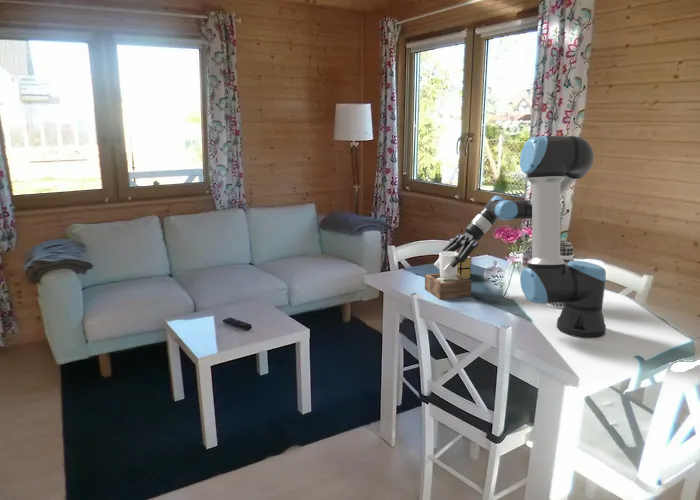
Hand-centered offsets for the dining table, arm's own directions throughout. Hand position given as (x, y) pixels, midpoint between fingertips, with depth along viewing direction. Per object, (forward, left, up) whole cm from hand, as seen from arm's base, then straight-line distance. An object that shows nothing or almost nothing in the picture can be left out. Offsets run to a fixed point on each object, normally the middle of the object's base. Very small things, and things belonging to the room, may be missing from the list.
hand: (440, 269), depth 212 cm
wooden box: (0, -3, -10) cm, 11 cm away
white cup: (0, -3, -4) cm, 5 cm away
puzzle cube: (+20, -18, -11) cm, 29 cm away
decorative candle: (-27, -36, -10) cm, 47 cm away
